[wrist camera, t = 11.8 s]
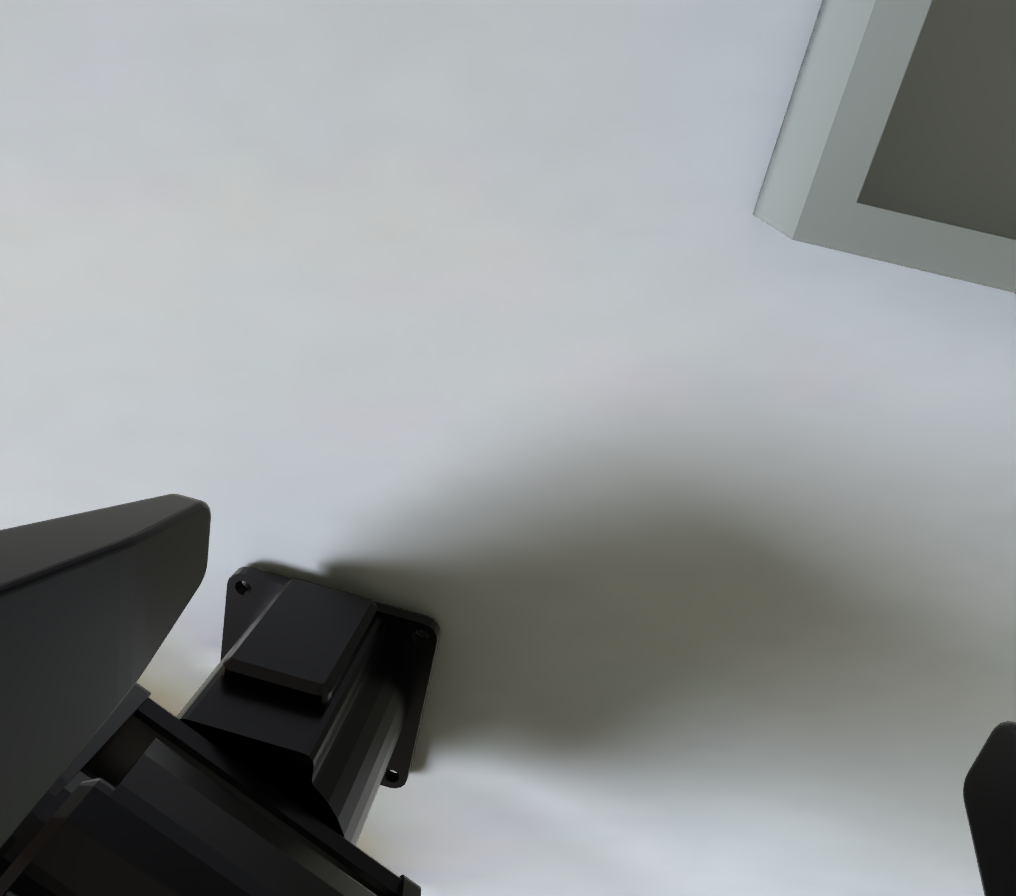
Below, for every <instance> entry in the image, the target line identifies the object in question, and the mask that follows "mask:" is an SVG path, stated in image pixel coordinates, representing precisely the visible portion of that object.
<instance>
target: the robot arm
mask: <svg viewBox="0 0 1016 896" xmlns="http://www.w3.org/2000/svg"><path fill="white" fill-rule="evenodd" d="M210 521H211V513H210V508H209V506H208V505H207V503H206V502H204V501H201V500H197V499H194V498H190V497H186V496H183V495H179V494H169V495H164V496H159V497H154V498H150V499H145V500H140V501H136V502H131V503H126V504H121V505H117V506H112V507H107V508H103V509H98V510H93V511H88V512H84V513H79V514H74V515H70V516H65V517H60V518H56V519H51V520H46V521H41V522H37V523H32V524H27V525H23V526H18V527H13V528H8V529H4V530H0V896H421V887H420V886H418V885H417V884H416V883H414V882H413V881H411V880H410V879H409V878H407V877H406V876H404V875H401V876H400V877H398V876H397V875H396V874H394V873H393V872H391V871H390V870H389V869H387V868H386V867H384V866H383V865H382V864H380V863H379V862H378V861H376V860H375V859H373V858H372V857H371V856H369V855H368V854H366V853H365V852H364V851H362V850H361V849H359V848H358V847H357V846H356V843H357V841H358V838H359V836H360V833H361V831H362V828H363V826H364V823H365V821H366V818H367V816H368V813H369V811H370V808H371V806H372V803H373V801H374V798H375V796H376V793H377V791H378V788H379V786H380V785H383V786H386V787H389V788H399V787H402V786H403V785H405V783H406V781H407V778H408V776H409V773H410V769H411V765H412V760H413V756H414V751H415V747H416V742H417V738H418V733H419V728H420V724H421V719H422V715H423V710H424V706H425V701H426V697H427V692H428V688H429V683H430V678H431V674H432V669H433V665H434V660H435V656H436V651H437V647H438V642H439V637H440V627H439V625H438V623H437V622H436V621H435V620H434V619H432V618H430V617H428V616H425V615H421V614H418V613H414V612H410V611H407V610H403V609H400V608H396V607H392V606H389V605H385V604H381V603H378V602H374V601H372V600H370V599H367V598H364V597H360V596H357V595H353V594H349V593H346V592H342V591H339V590H335V589H331V588H328V587H324V586H320V585H317V584H313V583H310V582H306V581H302V580H299V579H291V578H288V577H284V576H280V575H277V574H273V573H269V572H266V571H262V570H259V569H255V568H251V567H242V568H239V569H238V570H237V571H236V572H235V573H234V574H233V575H232V576H231V577H230V578H229V580H228V583H227V594H226V605H225V616H224V628H223V639H222V651H221V662H220V663H219V664H218V666H217V667H216V668H215V669H214V671H213V672H212V673H211V674H210V676H209V677H208V678H207V679H206V681H205V682H204V683H203V684H202V686H201V687H200V688H199V689H198V690H197V692H196V693H195V694H194V695H193V697H192V698H191V699H190V700H189V702H188V703H187V704H186V705H185V707H184V708H183V709H182V710H181V712H180V713H179V714H178V715H177V717H176V716H174V715H173V714H172V713H170V712H169V711H167V710H166V709H165V708H163V707H162V706H160V705H159V704H158V703H156V702H155V701H153V700H152V699H151V698H149V696H150V695H151V693H150V692H149V691H147V690H146V689H145V688H143V687H142V686H140V685H139V684H138V683H136V682H137V680H138V679H139V677H140V676H141V675H142V673H143V672H144V670H145V669H146V667H147V666H148V664H149V662H150V661H151V659H152V658H153V656H154V655H155V653H156V652H157V650H158V649H159V647H160V646H161V644H162V643H163V641H164V639H165V638H166V636H167V635H168V633H169V632H170V630H171V629H172V627H173V626H174V624H175V623H176V621H177V620H178V618H179V616H180V615H181V613H182V612H183V610H184V609H185V607H186V606H187V604H188V603H189V601H190V600H191V598H192V597H193V595H194V593H195V592H196V590H197V589H198V587H199V586H200V584H201V582H202V580H203V578H204V575H205V572H206V568H207V561H208V548H209V535H210ZM242 581H245V582H247V583H248V584H249V585H250V586H251V588H247V587H245V586H244V585H243V584H242ZM417 630H422V631H424V632H426V633H427V634H428V637H422V636H420V635H418V633H417V632H416V631H417ZM390 770H394V771H396V772H397V773H394V772H392V771H390ZM963 796H964V803H965V808H966V812H967V817H968V821H969V826H970V831H971V835H972V840H973V844H974V849H975V853H976V858H977V863H978V867H979V872H980V876H981V881H982V886H983V890H984V895H985V896H1016V722H1011V721H1007V722H1003V723H1000V724H999V725H997V726H996V727H995V728H994V730H993V731H992V733H991V734H990V736H989V738H988V740H987V741H986V743H985V745H984V746H983V748H982V750H981V751H980V753H979V755H978V756H977V758H976V760H975V762H974V763H973V765H972V767H971V768H970V770H969V772H968V774H967V776H966V779H965V782H964V788H963Z"/></svg>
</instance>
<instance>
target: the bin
mask: <svg viewBox="0 0 1016 896" xmlns="http://www.w3.org/2000/svg"><path fill="white" fill-rule="evenodd" d="M753 215H754V216H756V217H758V218H759V219H761V220H762V221H764V222H766V223H767V224H769V225H770V226H772V227H773V228H775V229H777V230H778V231H780V232H781V233H783V234H784V235H786V236H788V237H789V238H791V239H792V240H797V241H801V242H805V243H809V244H813V245H818V246H822V247H826V248H830V249H834V250H838V251H843V252H847V253H851V254H855V255H859V256H863V257H868V258H872V259H876V260H880V261H884V262H889V263H893V264H897V265H901V266H905V267H909V268H914V269H918V270H922V271H926V272H930V273H935V274H939V275H943V276H947V277H951V278H955V279H960V280H964V281H968V282H972V283H976V284H981V285H985V286H989V287H993V288H997V289H1001V290H1006V291H1010V292H1014V293H1016V0H823V1H822V4H821V7H820V10H819V13H818V16H817V19H816V22H815V25H814V29H813V32H812V35H811V38H810V41H809V44H808V47H807V50H806V53H805V56H804V59H803V62H802V65H801V68H800V71H799V74H798V78H797V81H796V84H795V87H794V90H793V93H792V96H791V99H790V102H789V105H788V108H787V111H786V114H785V117H784V120H783V124H782V127H781V130H780V133H779V136H778V139H777V142H776V145H775V148H774V151H773V154H772V157H771V160H770V163H769V166H768V169H767V173H766V176H765V179H764V182H763V185H762V188H761V191H760V194H759V197H758V200H757V203H756V206H755V209H754V212H753Z"/></svg>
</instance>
